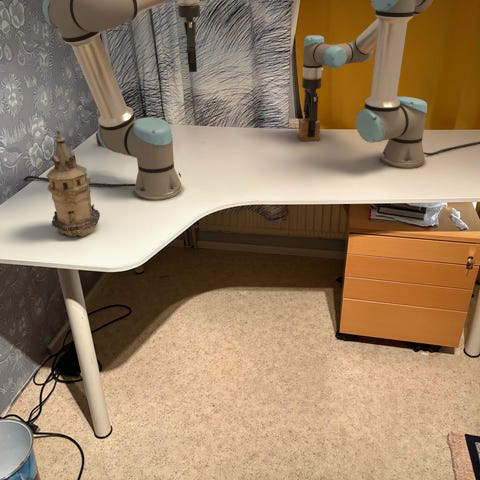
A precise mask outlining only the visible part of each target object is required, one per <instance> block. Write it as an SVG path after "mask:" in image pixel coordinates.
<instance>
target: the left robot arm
mask: <svg viewBox="0 0 480 480" xmlns="http://www.w3.org/2000/svg"><path fill="white" fill-rule="evenodd" d="M170 1H171V0H43V1H42V12H43V16H44V18H45V20H46V22H47V23H48V24H49V25H50V26H51V27H53V28H55V29H58V32H59V33H60V36H61V38H62V40H63V42H64V43H66V44H67V45H70V46H71V49H72V50H73V53H74V55H75V59H76V60H77V61H78V65H79V67H80V70H81V71H82V74H83V77H84V78H85V79H84V80H85V81H86V84H87V86H88V88H89V91H90V93H91V95H92V98H93V99H94V100H93V101H94V103H95V105H96V106H97V110H98V112H99V114H100V116H99V117H98V125H97V128H98V130H97V131H96V133H98V138H99V140H100V142H101V144H102V145H101V146H103V147H104V148H105V149H106V150H109V151H111V152H113V153H117V154H121V155H126V156H129V157H132V158H135V159H136V161H137V175H136V179H135V183H102V182H101V183H100V182H90V184H89V187H91V186H93V187H109V188H111V187H112V188H124V187H125V188H126V187H128V188H129V187H130V188H131V187H132V188H133V187H134V193H135V195H136V196H137V197H138V198H141V199H143V200H148V201H161V200H168V199H171V198H174V197H176V196H178V195H179V194H180V193H181V192H182V182H181V180H180V178H182V174H181V172H179V171H178V173H177V171H176V169H175V161H174V160H175V157H174V143H173V134H172V128H171V125H170V124H169V123H168V122H167V121H166V120H164V119H162V118H159V117H141V118H138V119H137V117H136V115H135V112H134V110H133V108H132V107H130V106H127V103H126V102H125V99H124V96H123V94H122V90H121V89H120V85H119V83H118V81H117V77H116V76H115V72H114V70H113V68H112V65H111V63H110V60H109V56H108V54H107V51H106V49H105V47H104V44H103V41H102V39H101V36H100V35H101V33H102V32H104V31H107V30H110V29H113V28H116V27H120V26H122V25H123V24H126V23H128V22H131V21H133V20H135V19H136V18H137V16H138V14H140V13H142V12H145V11H147V10H150V9H153V8H155V7H157V6H160V5H162V4H165V3H167V2H170ZM177 4H179V5H178V6H177V13H178V17H179V18H181V19H182V18H184V20H185V21H184V22H183V25H184V29H185V30H184V31H185V32H184V33H185V36H186V50H185V53H186V54H187V65H188V72H189V73H197V72H198V67H197V66H198V65H197V49H196V46H197V42H196V28H197V22H196V21H194V18H199V17H201V5H200V0H177ZM29 179H31V180H32V179H34V180H38V181H47V182H49V179H48V178H47V177H42V176H35V175H27V176H25V177H24V178H23V179H22V181H23V182H25V181H27V180H29Z"/></svg>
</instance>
